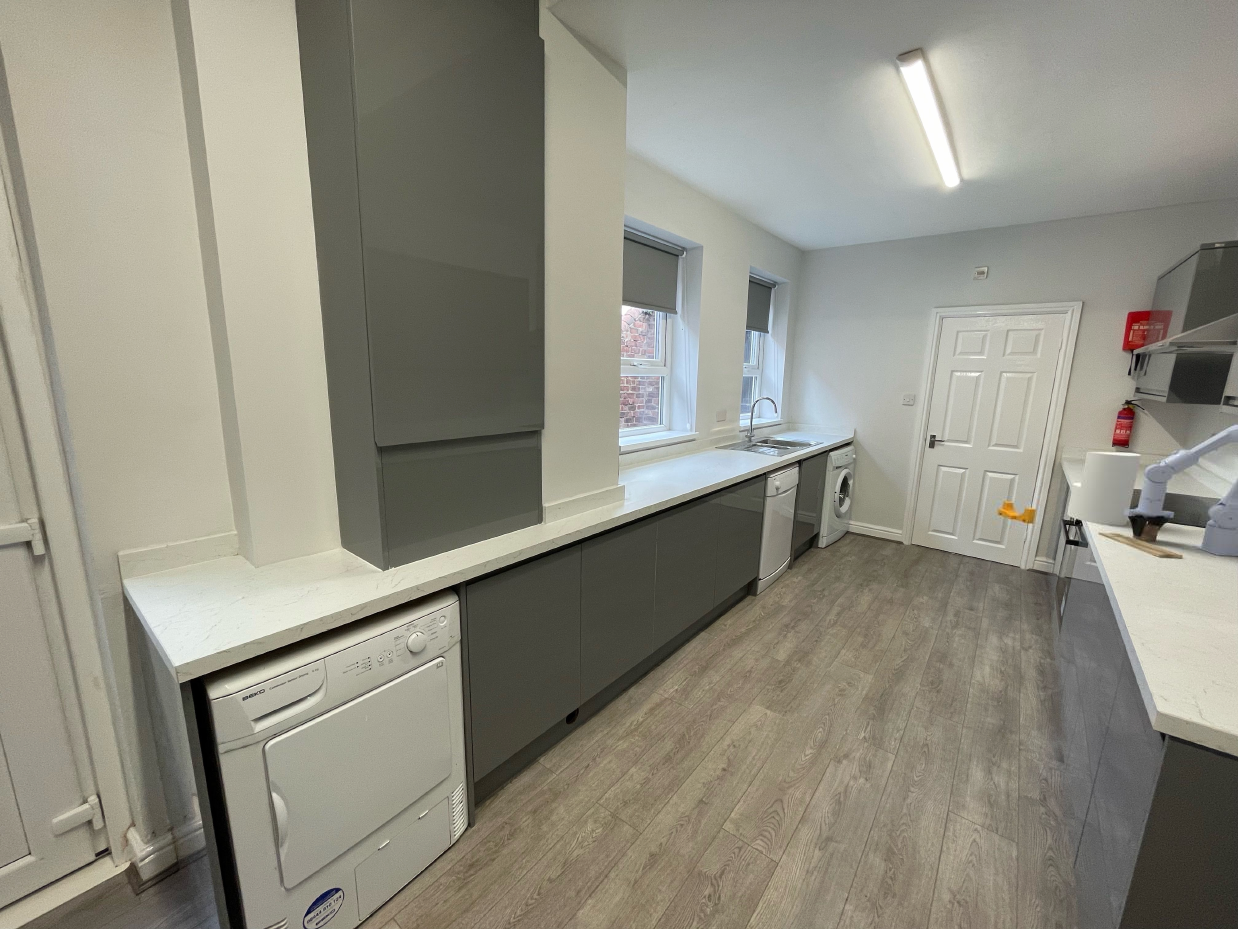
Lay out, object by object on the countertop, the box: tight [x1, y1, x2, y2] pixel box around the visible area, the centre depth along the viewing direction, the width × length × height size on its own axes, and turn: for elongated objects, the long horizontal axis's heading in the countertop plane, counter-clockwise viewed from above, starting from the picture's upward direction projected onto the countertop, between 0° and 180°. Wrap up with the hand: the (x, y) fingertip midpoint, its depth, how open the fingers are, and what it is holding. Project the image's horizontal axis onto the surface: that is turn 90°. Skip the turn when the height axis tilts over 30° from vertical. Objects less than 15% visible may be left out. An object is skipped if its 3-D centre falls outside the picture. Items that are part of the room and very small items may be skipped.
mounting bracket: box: [997, 501, 1037, 524], centre depth 195 cm, size 12×4×6 cm, turn 4°
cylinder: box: [1066, 451, 1142, 526], centre depth 195 cm, size 17×17×28 cm
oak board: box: [1098, 532, 1184, 559], centre depth 167 cm, size 7×22×1 cm, turn 175°
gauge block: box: [1132, 522, 1160, 543], centre depth 173 cm, size 4×4×6 cm
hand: (1143, 536), depth 173 cm, fingers closed on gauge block, 4 cm apart
